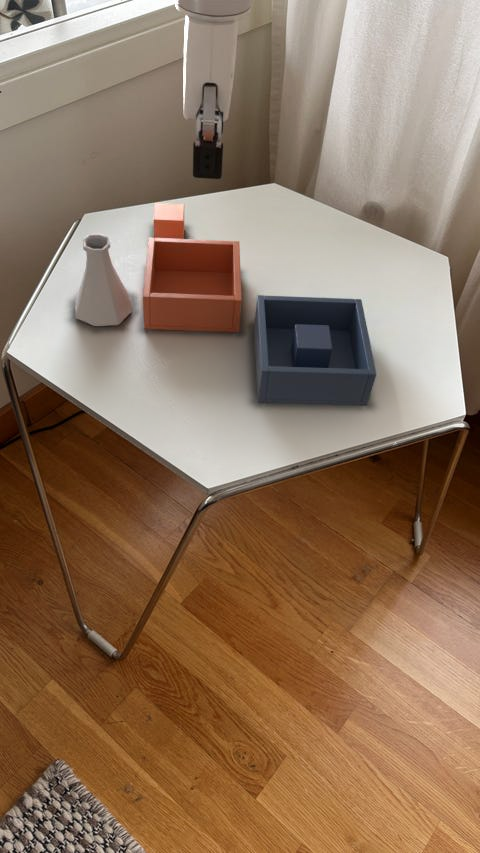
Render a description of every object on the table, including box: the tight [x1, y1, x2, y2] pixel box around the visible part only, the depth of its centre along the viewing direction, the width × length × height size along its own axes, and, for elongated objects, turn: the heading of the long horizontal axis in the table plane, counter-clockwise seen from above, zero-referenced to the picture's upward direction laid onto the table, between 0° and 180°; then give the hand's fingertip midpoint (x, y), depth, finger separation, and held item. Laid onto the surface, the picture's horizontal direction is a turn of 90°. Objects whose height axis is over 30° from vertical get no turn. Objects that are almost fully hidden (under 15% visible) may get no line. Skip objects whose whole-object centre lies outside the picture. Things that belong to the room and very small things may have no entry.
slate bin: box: [253, 294, 377, 406], centre depth 83 cm, size 13×13×5 cm
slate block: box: [291, 324, 332, 368], centre depth 83 cm, size 4×4×4 cm
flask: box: [74, 233, 132, 327], centre depth 85 cm, size 7×7×10 cm
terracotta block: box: [153, 202, 185, 239], centre depth 97 cm, size 4×4×4 cm
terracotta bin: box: [142, 237, 243, 333], centre depth 89 cm, size 12×12×5 cm
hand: (208, 154), depth 82 cm, fingers open, 9 cm apart
